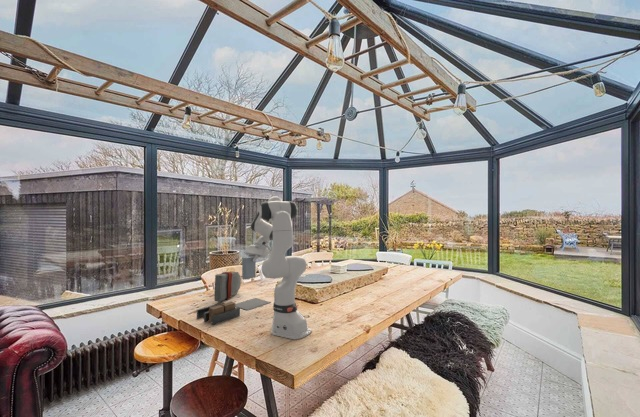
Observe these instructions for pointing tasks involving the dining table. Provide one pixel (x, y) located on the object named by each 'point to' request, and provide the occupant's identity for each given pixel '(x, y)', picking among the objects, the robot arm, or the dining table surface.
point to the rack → (218, 317)
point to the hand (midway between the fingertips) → (250, 260)
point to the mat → (251, 303)
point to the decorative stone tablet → (226, 285)
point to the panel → (248, 267)
